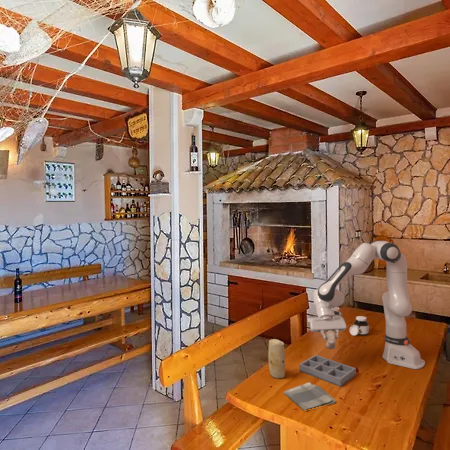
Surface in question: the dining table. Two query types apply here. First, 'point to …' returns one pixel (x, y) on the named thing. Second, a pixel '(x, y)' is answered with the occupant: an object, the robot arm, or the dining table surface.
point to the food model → (276, 358)
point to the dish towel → (309, 396)
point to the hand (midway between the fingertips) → (331, 338)
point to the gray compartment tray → (327, 370)
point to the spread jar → (359, 326)
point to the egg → (330, 340)
